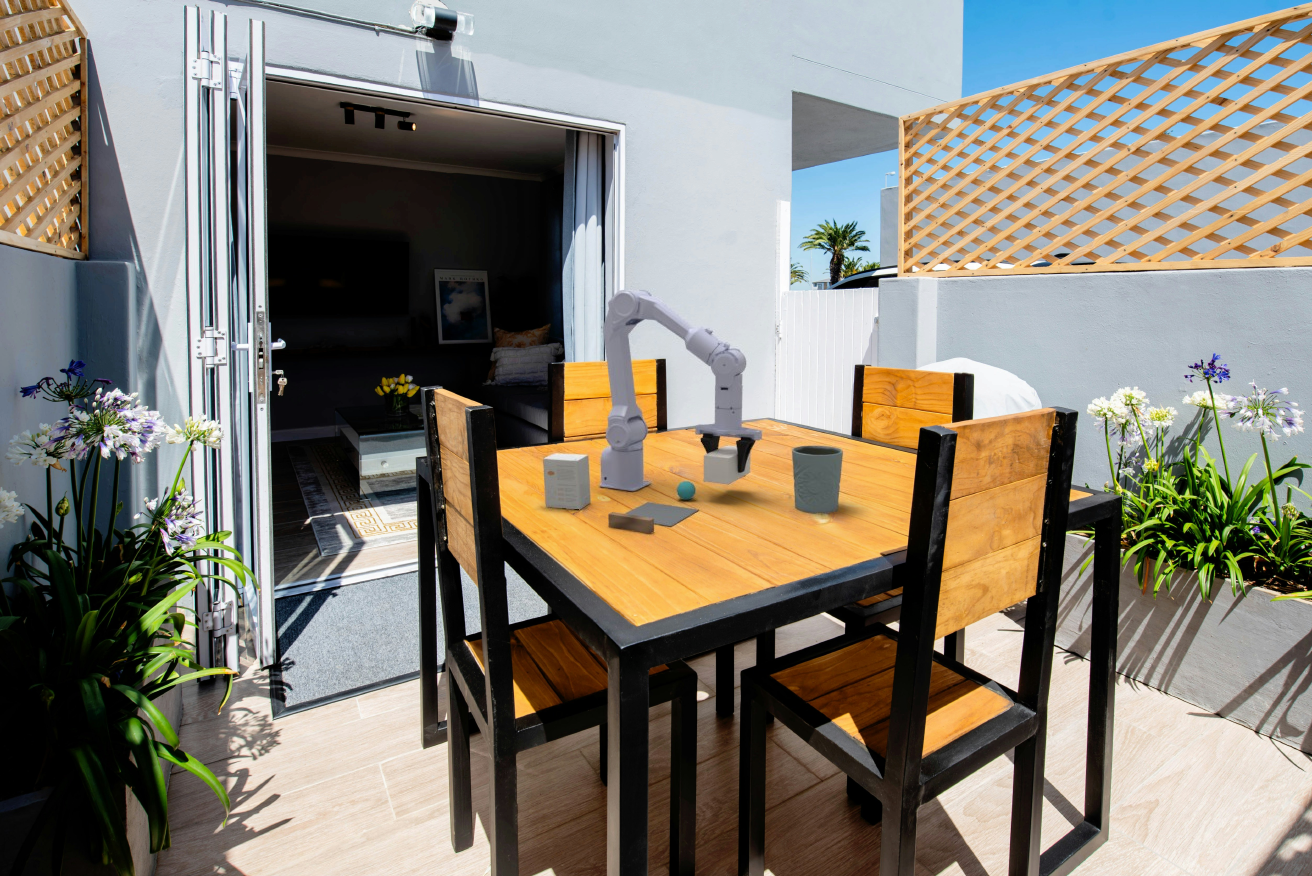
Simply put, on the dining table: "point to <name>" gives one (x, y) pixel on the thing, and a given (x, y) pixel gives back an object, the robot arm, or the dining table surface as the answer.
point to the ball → (686, 490)
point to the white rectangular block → (723, 466)
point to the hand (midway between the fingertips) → (727, 470)
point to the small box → (566, 481)
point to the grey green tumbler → (817, 478)
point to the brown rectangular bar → (631, 522)
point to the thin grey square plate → (663, 513)
